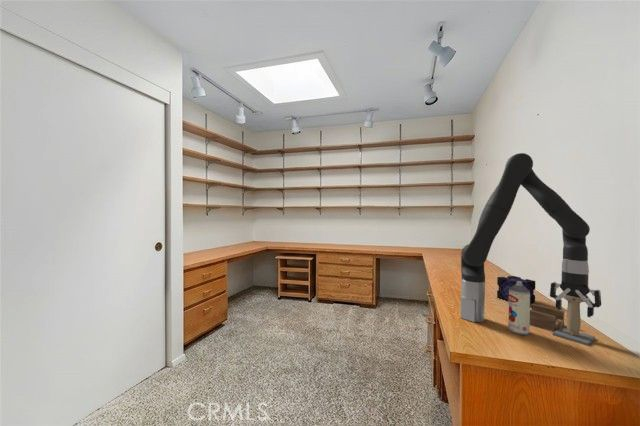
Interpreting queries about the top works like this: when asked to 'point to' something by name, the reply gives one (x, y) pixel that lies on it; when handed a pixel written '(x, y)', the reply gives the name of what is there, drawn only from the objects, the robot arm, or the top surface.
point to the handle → (573, 314)
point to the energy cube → (509, 282)
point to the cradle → (546, 317)
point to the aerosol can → (519, 309)
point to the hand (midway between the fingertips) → (574, 313)
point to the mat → (581, 338)
